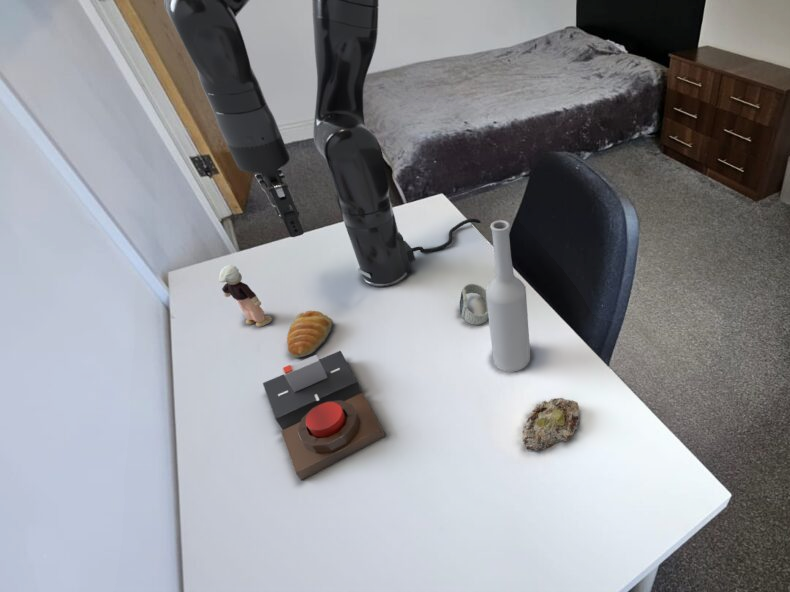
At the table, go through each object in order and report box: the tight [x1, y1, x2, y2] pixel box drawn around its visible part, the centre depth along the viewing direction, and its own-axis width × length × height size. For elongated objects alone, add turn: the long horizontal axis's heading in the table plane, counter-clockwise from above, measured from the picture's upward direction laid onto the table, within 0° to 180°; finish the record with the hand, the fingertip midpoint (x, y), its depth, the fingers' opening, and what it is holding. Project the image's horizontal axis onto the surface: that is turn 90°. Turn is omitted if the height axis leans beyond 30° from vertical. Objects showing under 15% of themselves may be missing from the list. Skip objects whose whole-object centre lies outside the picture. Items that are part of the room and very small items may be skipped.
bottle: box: [485, 219, 531, 373], centre depth 76 cm, size 7×7×28 cm
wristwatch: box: [459, 283, 489, 326], centre depth 92 cm, size 9×6×5 cm
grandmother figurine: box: [218, 264, 273, 328], centre depth 85 cm, size 8×4×13 cm, turn 84°
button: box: [306, 402, 346, 438], centre depth 68 cm, size 5×5×2 cm
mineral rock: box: [522, 397, 580, 451], centre depth 73 cm, size 11×4×8 cm
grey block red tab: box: [281, 354, 328, 392], centre depth 74 cm, size 5×2×4 cm, turn 128°
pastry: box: [286, 310, 334, 358], centre depth 85 cm, size 9×7×4 cm
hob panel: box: [262, 350, 363, 431], centre depth 76 cm, size 12×9×3 cm
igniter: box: [280, 392, 386, 481], centre depth 70 cm, size 12×8×4 cm
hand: (291, 224), depth 84 cm, fingers open, 8 cm apart
